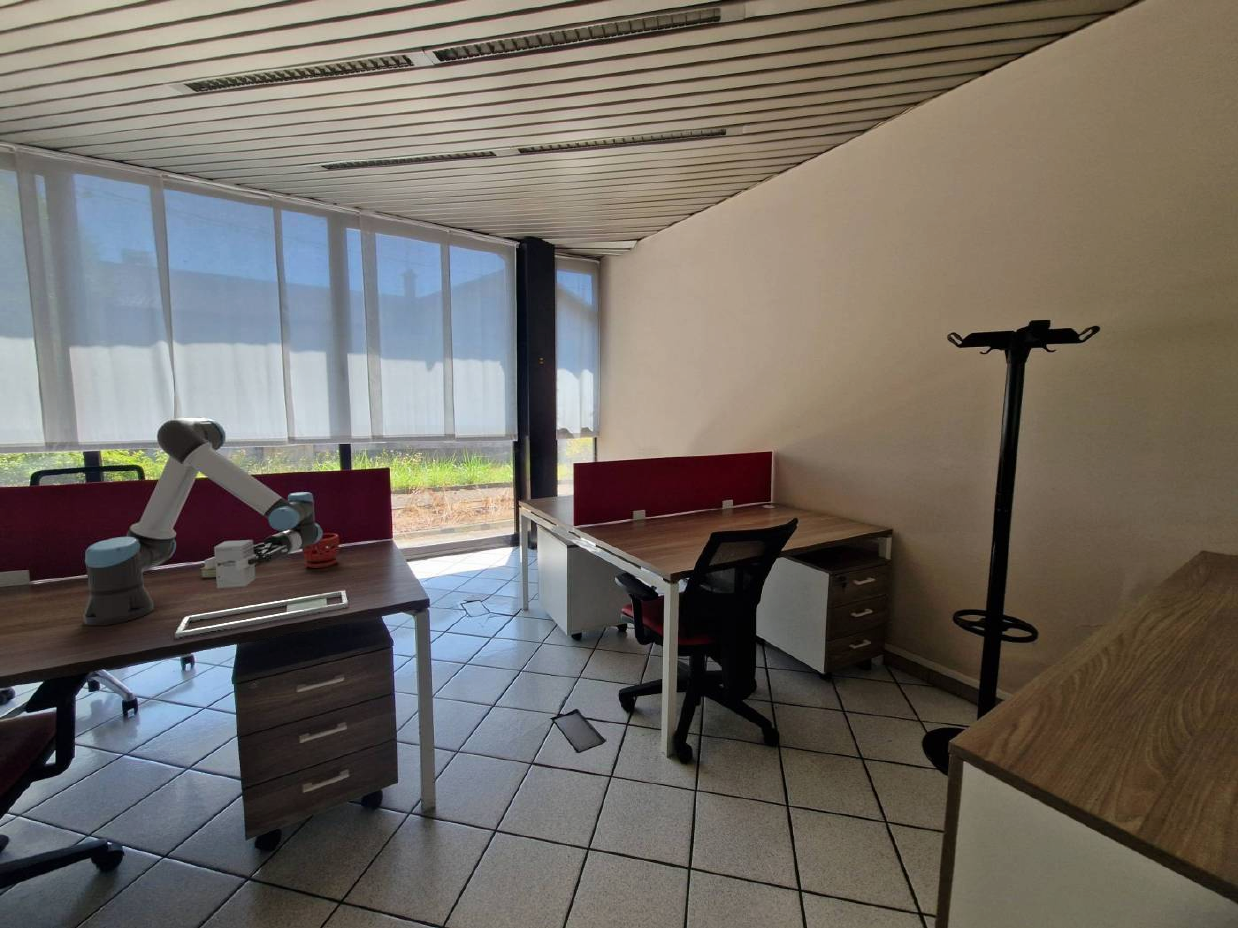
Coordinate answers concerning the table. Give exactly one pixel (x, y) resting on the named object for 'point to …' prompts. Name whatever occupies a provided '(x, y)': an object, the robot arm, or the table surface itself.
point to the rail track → (187, 619)
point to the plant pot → (322, 551)
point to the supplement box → (233, 563)
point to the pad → (306, 605)
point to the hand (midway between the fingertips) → (221, 565)
